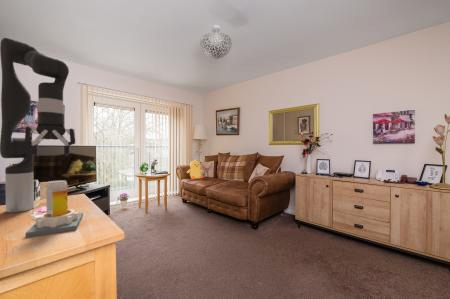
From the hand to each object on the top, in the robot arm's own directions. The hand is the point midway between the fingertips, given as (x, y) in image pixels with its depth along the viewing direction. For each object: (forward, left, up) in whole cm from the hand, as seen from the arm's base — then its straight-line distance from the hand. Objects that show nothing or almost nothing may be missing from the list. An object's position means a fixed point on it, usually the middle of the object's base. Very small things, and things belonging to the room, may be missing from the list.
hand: (51, 155), depth 77 cm
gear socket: (+1, +2, -26) cm, 26 cm away
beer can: (+1, +2, -25) cm, 25 cm away
